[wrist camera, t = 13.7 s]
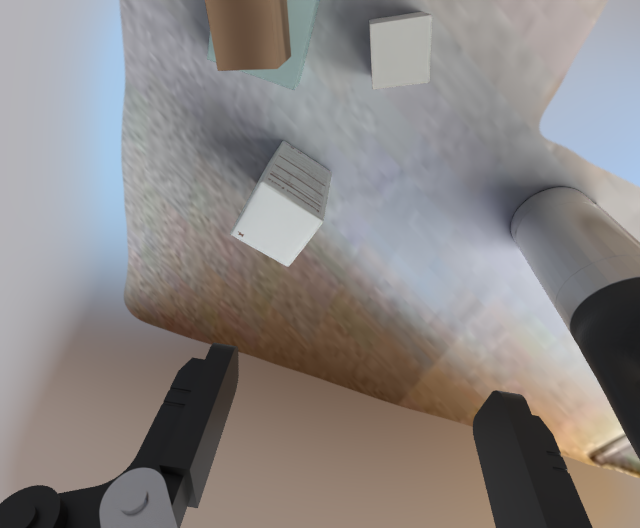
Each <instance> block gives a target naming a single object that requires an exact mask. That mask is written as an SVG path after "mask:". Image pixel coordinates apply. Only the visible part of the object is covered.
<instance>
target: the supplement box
mask: <svg viewBox="0 0 640 528" xmlns="http://www.w3.org/2000/svg"><path fill="white" fill-rule="evenodd" d="M331 175H332V172H330V171H329V170H327V169H326V168H324V167H323V166H321V165H320V164H318V163H317V162H315V161H314V160H312V159H311V158H310V157H308V156H307V155H305V154H304V153H302V152H301V151H299V150H298V149H296V148H295V147H293V146H291V145H290V144H289V143H287V142H285V141H282V143H281V144H280V146H279V147H278V149H277V150H276V152H275V153H274V155H273V157H272V158H271V160H270V161H269V163H268V165H267V167H266V168H265V170H264V172H263V174H262V175H261V177H260V179H259V181H258V183H257V184H256V186H255V188H254V190H253V192H252V193H251V195H250V197H249V199H248V201H247V203H246V204H245V206H244V208H243V210H242V212H241V214H240V216H239V217H238V219H237V221H236V223H235V225H234V227H233V228H232V230H231V232H230V235H232V236H234V237H236V238H237V239H239V240H241V241H242V242H244V243H246V244H248V245H250V246H251V247H253V248H255V249H257V250H258V251H260V252H262V253H264V254H266V255H267V256H269V257H271V258H273V259H275V260H276V261H278V262H280V263H282V264H283V265H285V266H290V264H291V263H292V262H293V261H294V259H295V258H296V257H297V256H298V254H299V253H300V252H301V251H302V249H303V248H304V247H305V245H306V244H307V243H308V241H309V240H310V239H311V238H312V236H313V235H314V234H315V232H316V231H317V230H318V228H319V227H320V226H321V224H322V223H323V221H324V215H325V209H326V204H327V199H328V193H329V187H330V181H331Z"/></svg>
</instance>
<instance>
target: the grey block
mask: <svg viewBox="0 0 640 528" xmlns="http://www.w3.org/2000/svg"><path fill="white" fill-rule="evenodd" d="M369 26H370V48H371V71H372V87H373V90H374V89H382V88H390V87H398V86H407V85H415V84H423V83H429V82H430V57H431V33H432V15H431V14H427V13H424V12H416V13H410V14H403V15H397V16H390V17H384V18H377V19H371V20H369Z"/></svg>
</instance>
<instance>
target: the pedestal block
mask: <svg viewBox="0 0 640 528" xmlns="http://www.w3.org/2000/svg"><path fill="white" fill-rule="evenodd" d="M319 1H320V0H287V6H288V19H289V33H290V46H291V57H290V58H289V59H288V60H287V61H286V62H285V63H283V64H282V65H281V66H280V67H279V68H278V69H263V70H239V71H242V72H244V73H247V74H250V75H253V76H256V77H258V78H261V79H264V80H267V81H270V82H273V83H275V84H278V85H281V86H284V87H287V88H289V89H292V90H294V89H295V88H296V87H297V86H298V84H299V82H300V78H301V74H302V70H303V66H304V62H305V58H306V54H307V50H308V46H309V42H310V38H311V34H312V29H313V25H314V21H315V17H316V13H317V9H318V5H319ZM207 59H208V60H211V61H213V62H216V58H215V52H214V47H213V42H212V36H211V31H210V35H209V46H208V56H207Z"/></svg>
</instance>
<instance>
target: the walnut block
mask: <svg viewBox="0 0 640 528" xmlns="http://www.w3.org/2000/svg"><path fill="white" fill-rule="evenodd" d="M205 4H206V10H207V15H208V20H209V26H210V31H211V36H212V42H213V47H214V52H215V58H216V63H217V69H218V71H226V70H263V69H278V68H279V67H280V66H281V65H282V64H283V63H285V62H286V61H287V60H288V59H289V58H290V57H291V46H290V33H289V19H288V6H287V0H205Z"/></svg>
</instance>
